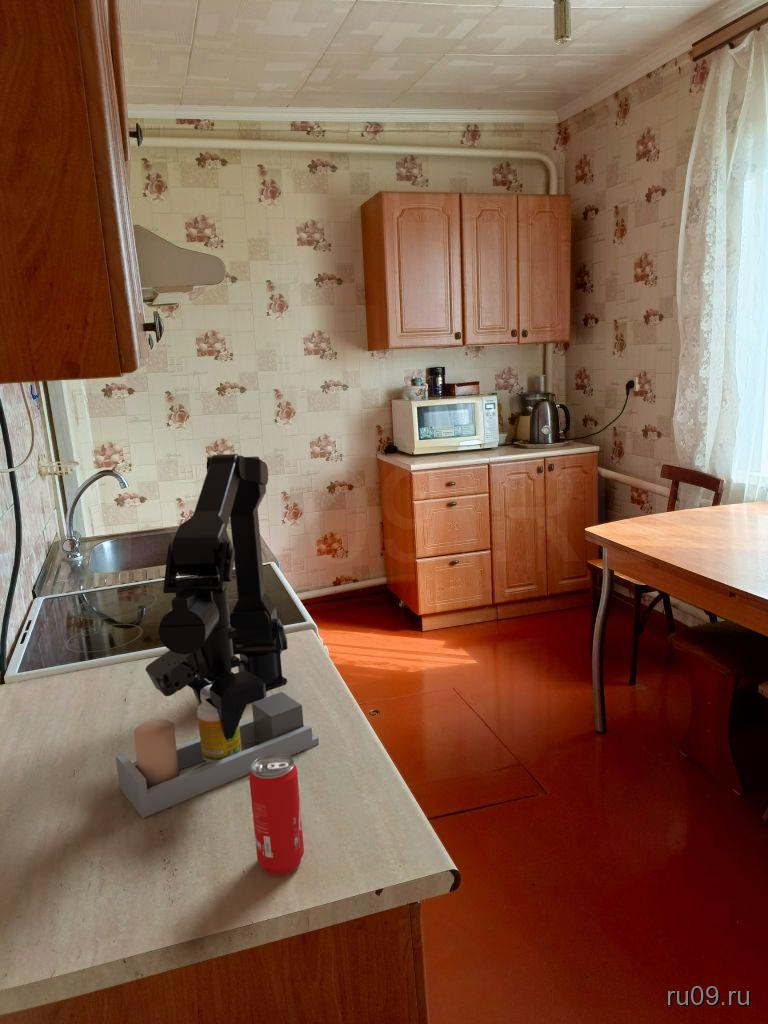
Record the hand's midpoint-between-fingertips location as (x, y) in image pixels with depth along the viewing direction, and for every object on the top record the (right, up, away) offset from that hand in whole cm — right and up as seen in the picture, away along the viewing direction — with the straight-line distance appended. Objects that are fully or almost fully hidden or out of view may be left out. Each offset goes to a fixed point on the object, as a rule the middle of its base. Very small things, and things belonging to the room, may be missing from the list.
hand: (220, 730), depth 102 cm
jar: (-7, -7, -4) cm, 10 cm away
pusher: (+7, -4, +6) cm, 10 cm away
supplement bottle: (0, -4, +1) cm, 4 cm away
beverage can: (+11, -9, -19) cm, 24 cm away
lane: (0, -5, +1) cm, 5 cm away
